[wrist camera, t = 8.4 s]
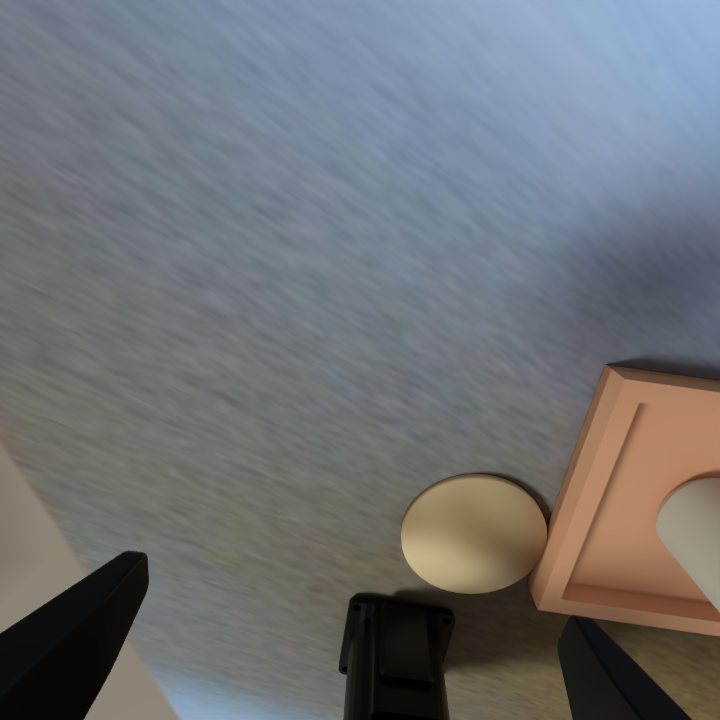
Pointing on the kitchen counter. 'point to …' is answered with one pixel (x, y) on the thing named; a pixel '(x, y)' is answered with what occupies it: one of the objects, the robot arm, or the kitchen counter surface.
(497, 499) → the cork coaster
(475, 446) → the kitchen counter surface
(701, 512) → the beverage can
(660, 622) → the tray
